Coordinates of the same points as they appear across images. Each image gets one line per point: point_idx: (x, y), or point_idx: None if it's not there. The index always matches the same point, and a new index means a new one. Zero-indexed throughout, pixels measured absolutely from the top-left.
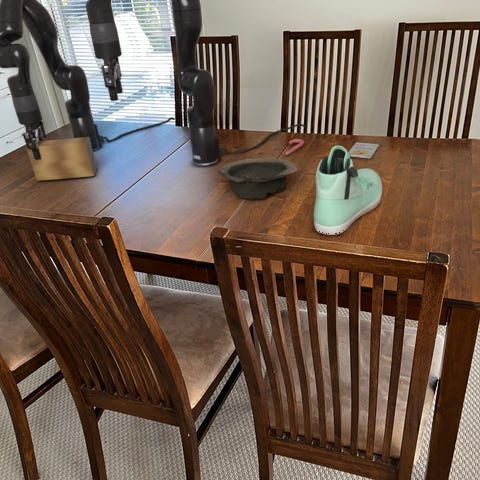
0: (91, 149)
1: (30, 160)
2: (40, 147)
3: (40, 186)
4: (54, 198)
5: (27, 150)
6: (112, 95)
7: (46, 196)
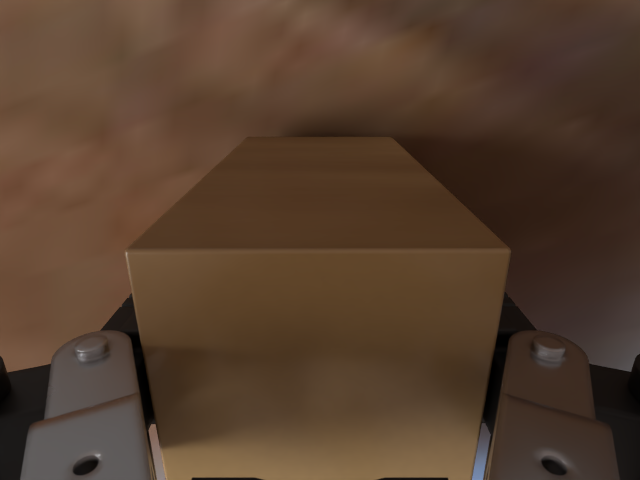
0: None
1: (197, 184)
2: (165, 462)
3: (208, 167)
4: (16, 316)
5: (148, 235)
6: None
7: (41, 260)
